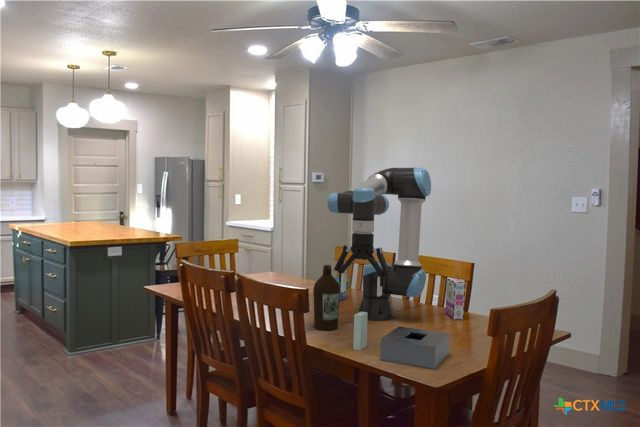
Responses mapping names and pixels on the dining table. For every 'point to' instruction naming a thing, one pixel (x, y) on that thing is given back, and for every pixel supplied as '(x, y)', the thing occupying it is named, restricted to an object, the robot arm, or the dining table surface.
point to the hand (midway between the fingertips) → (361, 293)
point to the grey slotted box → (415, 347)
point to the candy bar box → (455, 298)
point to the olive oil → (326, 301)
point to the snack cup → (342, 294)
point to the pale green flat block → (360, 330)
